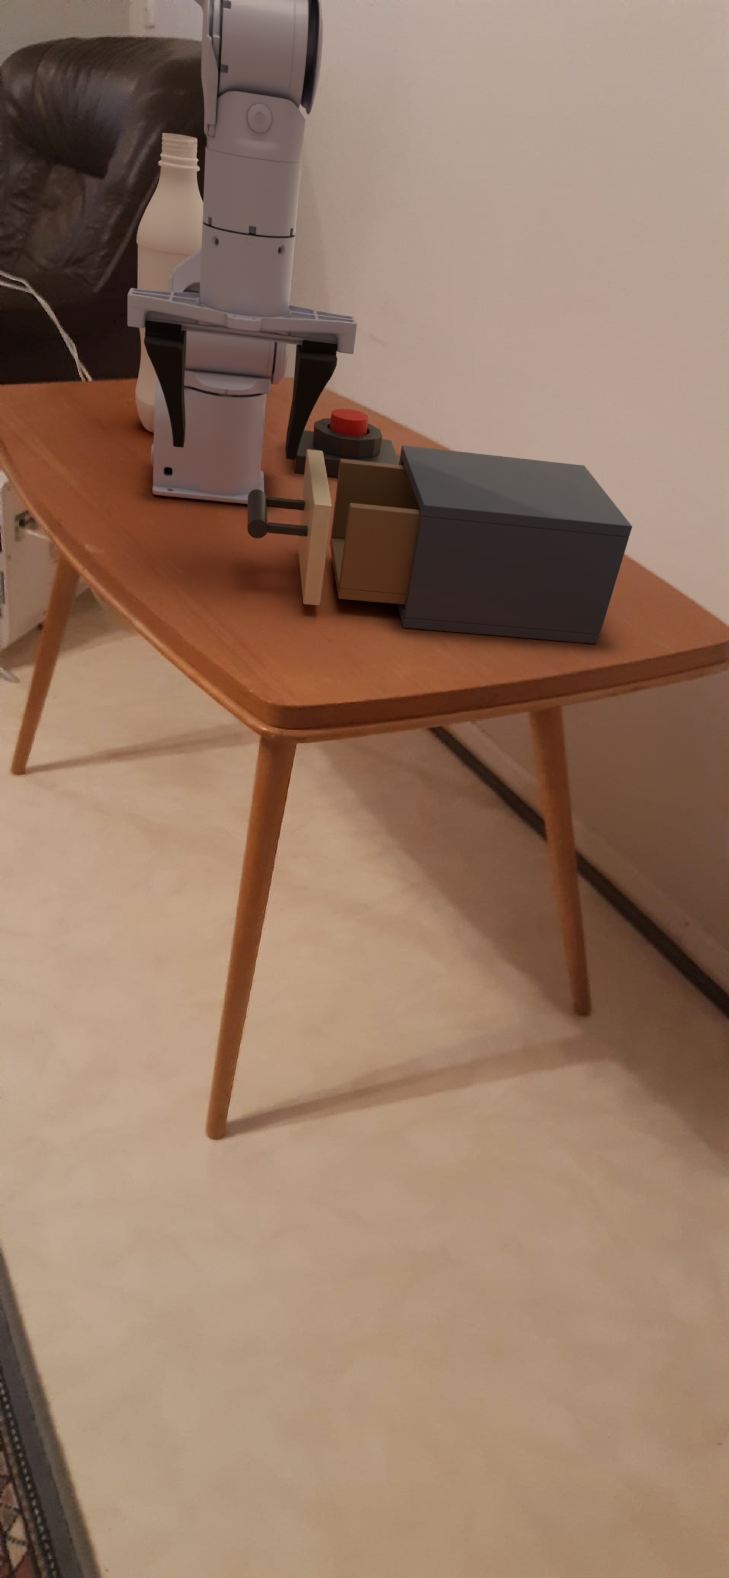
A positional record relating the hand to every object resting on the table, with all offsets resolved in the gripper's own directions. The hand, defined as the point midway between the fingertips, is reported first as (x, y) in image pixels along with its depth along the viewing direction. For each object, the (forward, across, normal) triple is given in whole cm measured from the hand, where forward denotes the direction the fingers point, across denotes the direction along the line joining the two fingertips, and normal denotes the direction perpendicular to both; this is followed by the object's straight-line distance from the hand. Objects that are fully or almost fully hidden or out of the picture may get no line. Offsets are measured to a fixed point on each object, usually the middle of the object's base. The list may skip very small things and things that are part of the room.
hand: (235, 448), depth 71 cm
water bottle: (+10, -6, +33) cm, 35 cm away
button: (+6, +11, +28) cm, 31 cm away
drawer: (+9, +10, 0) cm, 13 cm away
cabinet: (+9, +20, 0) cm, 22 cm away
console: (+9, +11, +28) cm, 32 cm away
